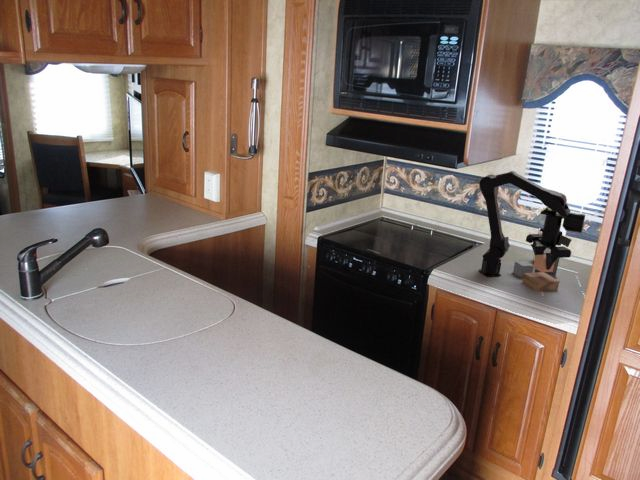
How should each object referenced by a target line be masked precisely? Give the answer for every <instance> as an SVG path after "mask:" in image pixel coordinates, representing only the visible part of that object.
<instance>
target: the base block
mask: <svg viewBox="0 0 640 480" xmlns="http://www.w3.org/2000/svg"><path fill="white" fill-rule="evenodd" d="M522 283H523V284H525V285H526V286H528V287H529V288H531V289H532V290H534V291H535V292H537V293H538V292H551V291H558V289H559V285H560V280H558V279H557V278H553V277H551V276H550V275H548V274H546V273H545V272H536V273H534V272H532V273H524V276H523V278H522Z"/></svg>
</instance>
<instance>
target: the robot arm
mask: <svg viewBox="0 0 640 480" xmlns="http://www.w3.org/2000/svg"><path fill="white" fill-rule="evenodd" d="M508 184H511V185H513V186H514V187H516V188H518V189H520V190H521V191H524V192H526V193H527V194H528V195H531V196H533V197H534V198H536V199H538V200H539V201H540V202H541V203H542V204H543V205H544V206H546V208H544V209H542V210H541V211H540V214H541V215H545V219H544V223H543V227H541V228H540V227H539V228H540V231H541V232H542V235H540V234H538V233H529V234H527V236H526V238H525V242H527V243H529V244H530V247H531V249H532V251H533V253H534V254H535V255H543V254H544V251H545V249H546V248H548V249H550V250H551V252H550V253H546V269H547V270H549V269H550V268H551V267H552V265H553V264H554V262H555V261H556V260H557V258H560V259H561V258H571V257H572V256H571V255H572V251H571V249H569V248H568V247H569V246H570V244H571V242H572V241H573V240H572V239H571V238H569V237H567V236H566V235H563V231H561V227H562V228H563V229H564V230H565V231H566V232H571V233H572V232H573V233H578V234H583V230H584V226H585V223H586V222H585V220H586V214H585V213H584V214H583V213H576V212H571V210H570V207H569V205H568V201H567V200H568V199H567V196H566V194H564V193H561V192H559V191H556V190H553V189H547V188H545V187H543V186H541V185H539V184H538V183H535V182H533V181H531V180H530V179H528V178H526V177H525V176H522V175H520V174H519V173H518V172H516V171H514V170H511V171H508V172H504V173H499V174H496V175H495V174H487V175H486V176H484V177H482V178H481V179H480V180H479V183H478V186H479V189H480V191H481V194H482V196H483V198H484V200H485V204H486V212H487V218H488V224H489V232H490V240H489V249H488V250H486V252H484V254H482V261H481V262H482V263H481V268H480V269H478V271H479V272H480V273H481V274H483V275H484V276H485V277H500V276H502V274H501V273H500V272H501V268H502V267H501V266H502V263H501V262H502V260H501V259H502V258H503V257H504V256H505V255H506V253H508V252H509V248H510V247H511V245H510V242H509V238H510V237H509V236H505V235H504V233H503V227H502V220H501V216H500V207H499V202H498V201H499V200H498V194H499V190H500V189H499V187H501V186H505V185H508ZM561 245H562V246H561ZM550 246H551V247H550ZM534 254H533V255H534Z"/></svg>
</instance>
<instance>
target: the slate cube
mask: <svg viewBox="0 0 640 480" xmlns="http://www.w3.org/2000/svg"><path fill="white" fill-rule="evenodd" d="M513 265H514V266H513V270H512V273H513V274H514V275H516V276H517V277H518V278H522V279H523V276H524V273H533V272H534V268H533V265H534V264H532V263H530V262H529V261H527V260H519V261H518V260H517V261H516V260H515V261H514V264H513Z"/></svg>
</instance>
